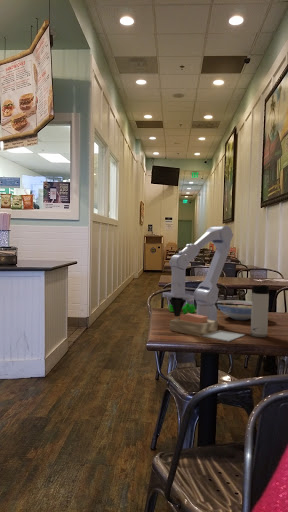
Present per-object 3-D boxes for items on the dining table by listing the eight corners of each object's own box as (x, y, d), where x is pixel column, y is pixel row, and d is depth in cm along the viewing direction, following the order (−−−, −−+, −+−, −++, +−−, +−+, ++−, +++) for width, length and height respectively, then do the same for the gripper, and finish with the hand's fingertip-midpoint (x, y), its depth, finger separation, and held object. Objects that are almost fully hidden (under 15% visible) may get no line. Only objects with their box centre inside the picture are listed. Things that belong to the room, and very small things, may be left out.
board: (188, 325, 172) (188, 316, 172) (217, 330, 164) (217, 320, 164) (169, 330, 161) (169, 320, 161) (199, 336, 153) (200, 325, 153)
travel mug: (253, 337, 153) (256, 285, 153) (248, 333, 160) (250, 283, 159) (269, 337, 154) (272, 285, 153) (263, 333, 160) (265, 284, 160)
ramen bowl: (262, 316, 202) (262, 299, 202) (272, 325, 179) (272, 306, 179) (211, 313, 204) (212, 297, 204) (215, 322, 182) (216, 304, 181)
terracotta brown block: (188, 318, 168) (188, 313, 168) (207, 321, 162) (207, 316, 162) (180, 319, 163) (180, 315, 163) (199, 323, 157) (199, 318, 157)
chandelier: (201, 312, 208) (202, 299, 208) (187, 316, 196) (188, 302, 196) (177, 308, 217) (177, 296, 217) (162, 312, 205) (162, 298, 205)
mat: (219, 331, 163) (219, 330, 163) (244, 335, 156) (244, 334, 156) (202, 336, 152) (202, 335, 152) (228, 341, 145) (228, 340, 145)
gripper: (158, 282, 169) (157, 314, 169) (187, 285, 159) (186, 319, 160) (168, 281, 174) (167, 312, 174) (197, 284, 165) (195, 317, 165)
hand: (177, 316), depth 168 cm, fingers closed
